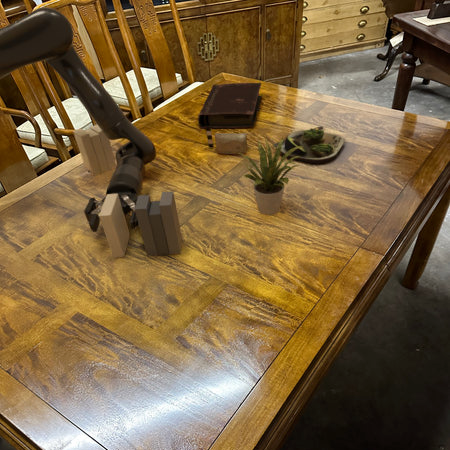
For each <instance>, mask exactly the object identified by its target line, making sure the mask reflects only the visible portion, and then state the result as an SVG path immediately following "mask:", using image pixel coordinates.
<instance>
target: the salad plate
mask: <svg viewBox="0 0 450 450" xmlns="http://www.w3.org/2000/svg"><path fill="white" fill-rule="evenodd" d="M279 142H280V141H278V142H276V143H274V144H273V145H272V148H276V149H277V146H278V144H279ZM344 143H345V140H344V139H343V137H342V136H341V135H338V134H334V133H325V132H324V126H323V125H322V126H321V125H320V126H316V127H314V128H310V129H303V130H302V129H301V130H295V131H293V132H291V133H290V134H289V135H287V136H286V138H285V139H283V142H282V149H281V153H280V155H282V157H283V156H284V155H285V154H286V153H287V152H288V151H289V150H291V149H293V148H295V147H299V146H303V147H301V148H298V149H296V150H294V151H293V152H292V153H291V154H289V155H288V156H287V157H286V158H285V159H287V160H288V161H289V160H290V159H291V158H293V157H296V156H301V157H297V158H295V159H293V160H292V162H297V163H301V164H308V165H321V164H326V163H328V162H329V161H331V160H333V159H334V158H336V157H337V156H338V154H339V152H340V150H342V147H343V145H344Z"/></svg>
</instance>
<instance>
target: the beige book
mask: <svg viewBox="0 0 450 450" xmlns="http://www.w3.org/2000/svg"><path fill="white" fill-rule="evenodd" d="M105 196H106V198H105V197H104V198H105V201H104V204H103V206H102V209H101V212H100V213H98V216H99V217H100V220H101V221H100V223H101V226H102V228H103V232H104V235H105V237H106V240H107V243H108V246H109V248H110V252H111V254H112V257H113V258H114V259H116V258H125V255H126V252H127V247H128V244H129V240H130V237H131V233H130V230H129V226H128V223H127V220H126V217H125V214H124V213H123V209H122V206H121V203H120V199H119V196H118V194H107V195H106V194H105Z"/></svg>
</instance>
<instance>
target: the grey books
mask: <svg viewBox="0 0 450 450" xmlns="http://www.w3.org/2000/svg"><path fill="white" fill-rule="evenodd" d="M135 213H136V217H137V220H138V224H139V226H138V227H139V231H140V234H141V238H142V242H143V245H144V249H145V252H146V255H147V257H150V256H165V255H167V256H168V255H181V253H182V247H183V246H182V245H183V236H182V230H181V226H180V220H179V214H178V209H177V204H176V199H175V194H174V191H173V190H171V191H170V190H169V191H162V192H161V195H160V199H159V200H152V198H151V195H150V194H149V195H145V194H140V196H138V199H137V202H136V206H135Z"/></svg>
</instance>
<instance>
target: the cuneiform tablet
mask: <svg viewBox="0 0 450 450" xmlns="http://www.w3.org/2000/svg"><path fill="white" fill-rule="evenodd" d="M204 129H205V133H206V140H207V144H208V148H209V147H214V143H215V149H216V154H224V155H232V154H233V155H236V154H237V155H239V154H238V153H242V154H248V137H247V136H248V135H247V133H246V132H242V133H232V132H231V133H230V132H229V133H228V132H227V133H225V132H224V133H223V132H221V133H219V132H218V133H215V134H214V141H213V135H212V128H211V127H210V126H205V128H204Z"/></svg>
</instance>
